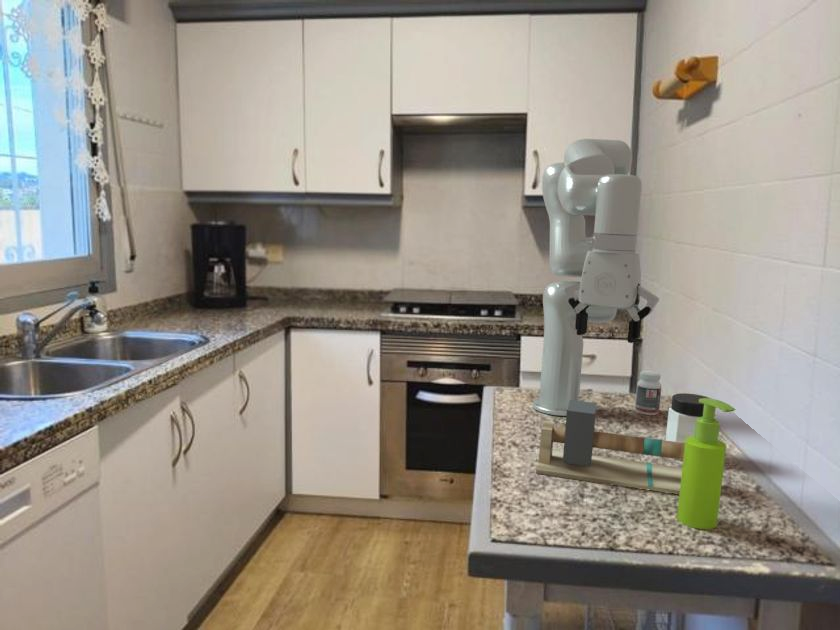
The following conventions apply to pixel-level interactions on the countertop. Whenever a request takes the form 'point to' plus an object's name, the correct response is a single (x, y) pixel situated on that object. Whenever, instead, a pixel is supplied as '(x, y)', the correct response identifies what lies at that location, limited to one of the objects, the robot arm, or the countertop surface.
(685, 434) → the jar
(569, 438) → the collar
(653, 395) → the pill bottle
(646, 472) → the pipe rig
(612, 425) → the countertop surface
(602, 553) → the countertop surface
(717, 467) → the soap dispenser
